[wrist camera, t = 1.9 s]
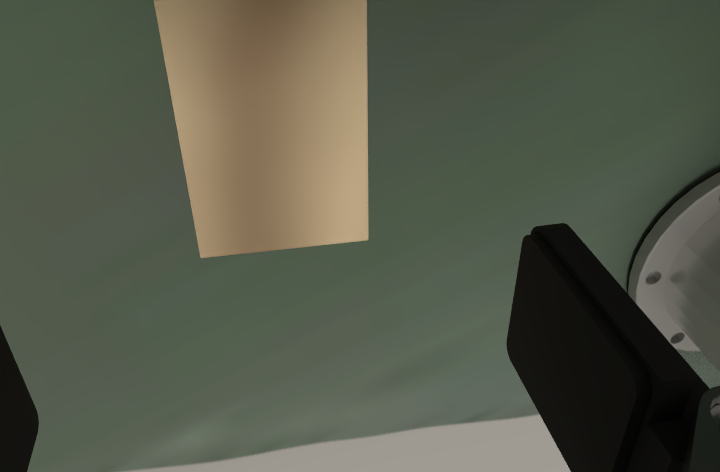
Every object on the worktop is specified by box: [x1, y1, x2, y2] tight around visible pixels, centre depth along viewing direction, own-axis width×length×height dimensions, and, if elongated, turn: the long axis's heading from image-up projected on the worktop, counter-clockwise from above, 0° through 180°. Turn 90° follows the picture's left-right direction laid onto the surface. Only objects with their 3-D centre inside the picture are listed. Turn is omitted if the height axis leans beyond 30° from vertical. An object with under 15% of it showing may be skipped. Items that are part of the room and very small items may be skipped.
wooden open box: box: [154, 0, 368, 258], centre depth 22 cm, size 6×8×8 cm
